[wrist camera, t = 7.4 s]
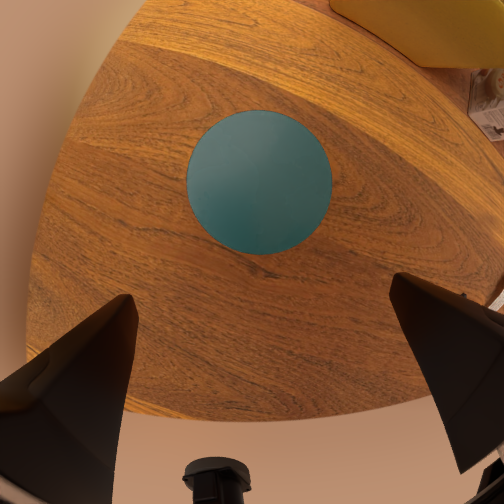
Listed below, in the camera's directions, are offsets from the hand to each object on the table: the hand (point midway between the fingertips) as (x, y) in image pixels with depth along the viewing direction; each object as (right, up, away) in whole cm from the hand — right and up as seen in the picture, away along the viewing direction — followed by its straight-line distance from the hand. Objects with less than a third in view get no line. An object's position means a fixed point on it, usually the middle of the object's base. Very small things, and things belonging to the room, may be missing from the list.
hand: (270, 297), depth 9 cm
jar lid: (0, +5, +4) cm, 6 cm away
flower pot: (+15, +30, +12) cm, 36 cm away
